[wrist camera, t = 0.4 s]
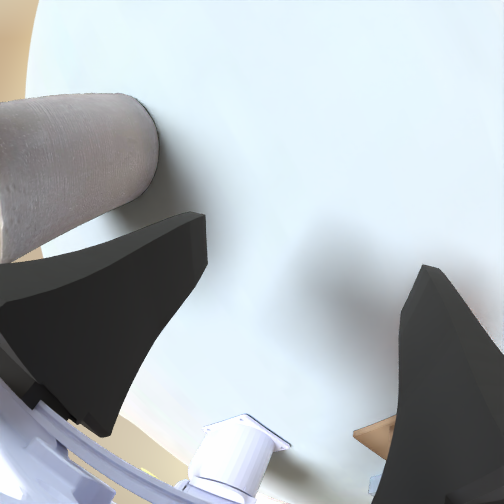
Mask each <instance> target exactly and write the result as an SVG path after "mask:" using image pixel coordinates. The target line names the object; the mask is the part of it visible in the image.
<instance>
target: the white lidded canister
mask: <svg viewBox="0 0 504 504" xmlns="http://www.w3.org/2000/svg"><path fill="white" fill-rule="evenodd" d="M255 498H256V499H257V501H256V503H255V504H289V503H286V502H283V501H280V500H277V499H274V498H271V497H269V496H266V495H263V494H260V493H258V492H257V494H256V497H255Z"/></svg>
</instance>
